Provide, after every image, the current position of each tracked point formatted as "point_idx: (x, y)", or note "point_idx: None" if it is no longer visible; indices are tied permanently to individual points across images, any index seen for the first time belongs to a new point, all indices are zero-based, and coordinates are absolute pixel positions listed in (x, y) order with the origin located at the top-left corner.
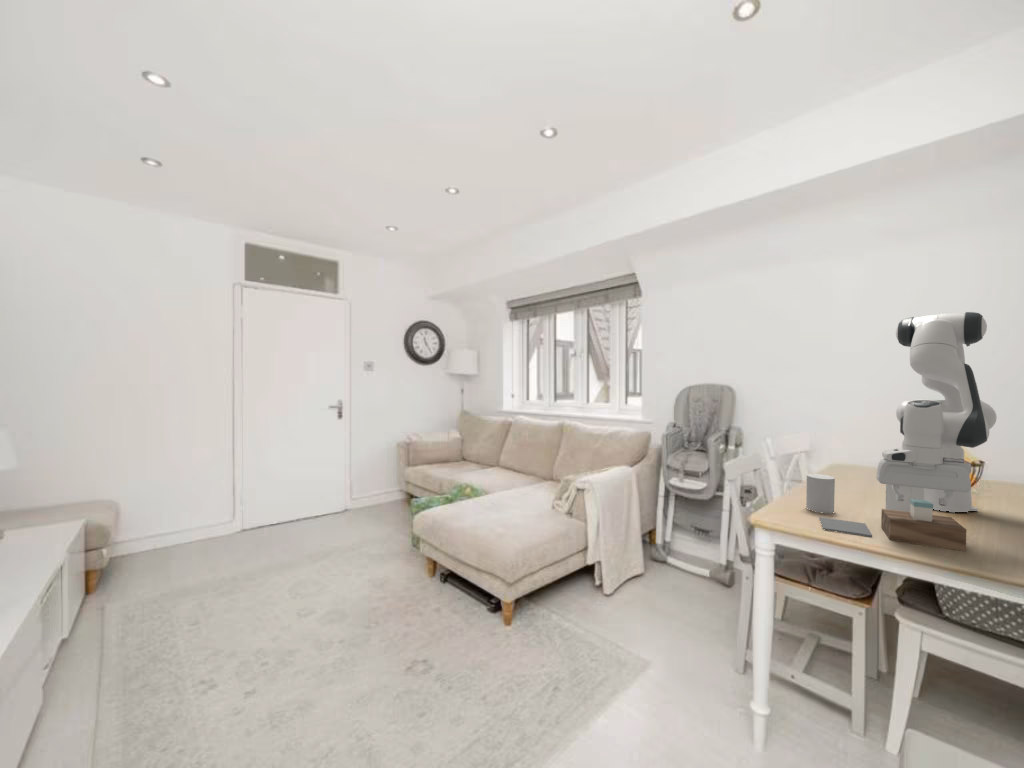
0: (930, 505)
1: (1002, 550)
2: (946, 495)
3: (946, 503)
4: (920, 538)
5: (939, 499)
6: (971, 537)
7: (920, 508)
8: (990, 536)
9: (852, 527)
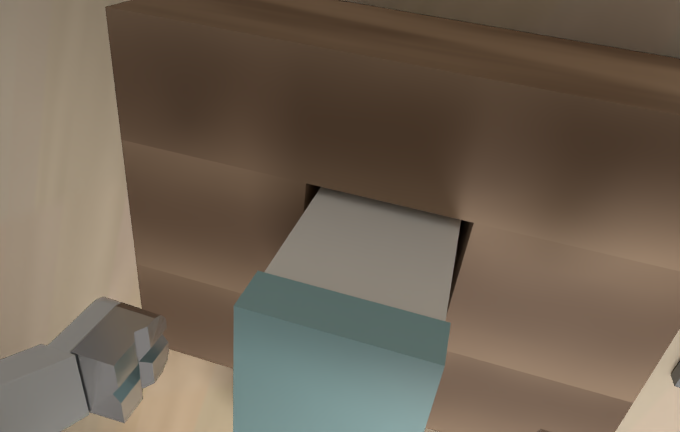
0: (268, 300)
1: (32, 95)
2: (11, 424)
3: (88, 314)
4: (478, 37)
5: (126, 394)
6: (127, 275)
7: (382, 293)
8: (54, 306)
9: None
